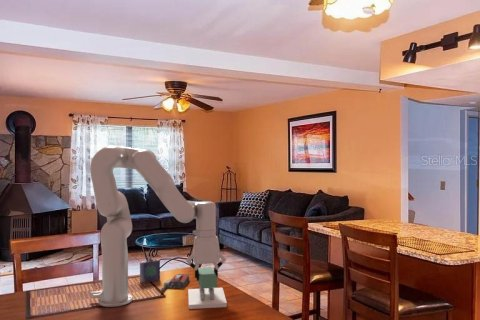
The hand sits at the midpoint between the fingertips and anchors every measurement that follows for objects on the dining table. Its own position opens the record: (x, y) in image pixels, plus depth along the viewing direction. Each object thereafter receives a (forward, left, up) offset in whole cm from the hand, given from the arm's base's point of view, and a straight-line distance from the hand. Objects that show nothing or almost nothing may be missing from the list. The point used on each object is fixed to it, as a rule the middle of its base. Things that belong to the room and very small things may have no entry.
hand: (206, 278), depth 161 cm
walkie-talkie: (-12, +19, -9) cm, 24 cm away
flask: (-24, +28, -8) cm, 38 cm away
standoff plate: (0, 0, -8) cm, 8 cm away
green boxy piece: (0, 0, -1) cm, 1 cm away
